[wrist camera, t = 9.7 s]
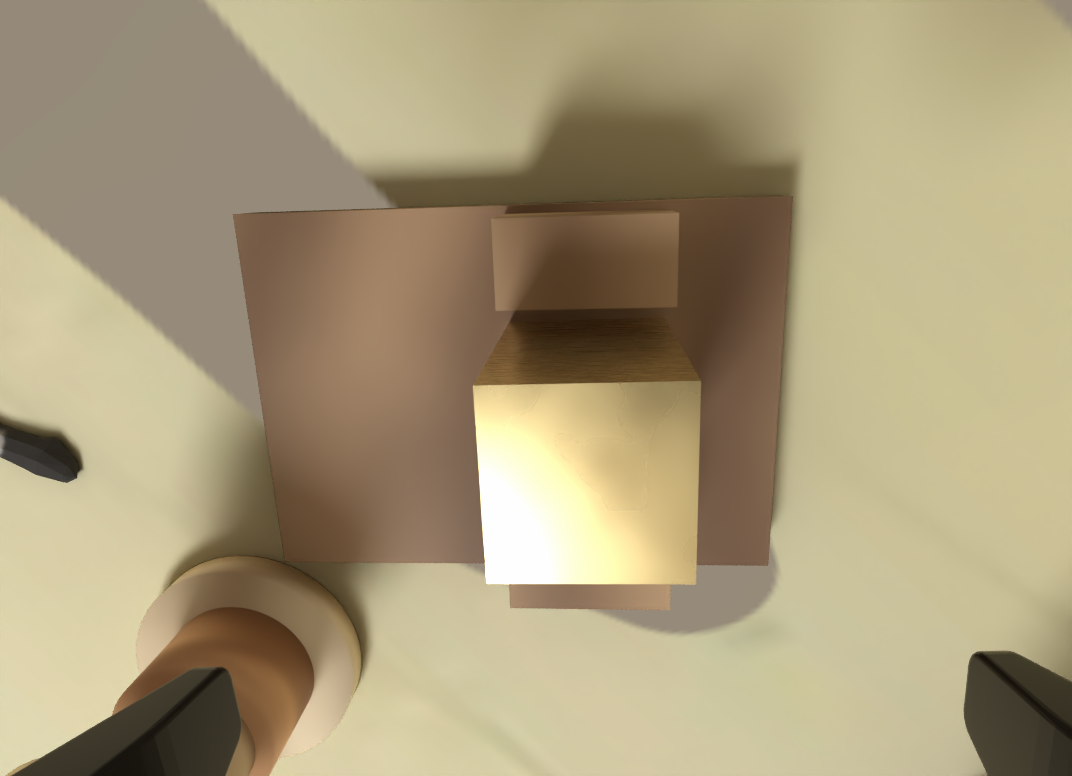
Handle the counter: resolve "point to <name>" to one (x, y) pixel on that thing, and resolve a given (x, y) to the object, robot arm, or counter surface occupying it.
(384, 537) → the notch board
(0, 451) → the chef's knife
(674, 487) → the tan block
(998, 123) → the counter surface
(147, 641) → the bobbin
